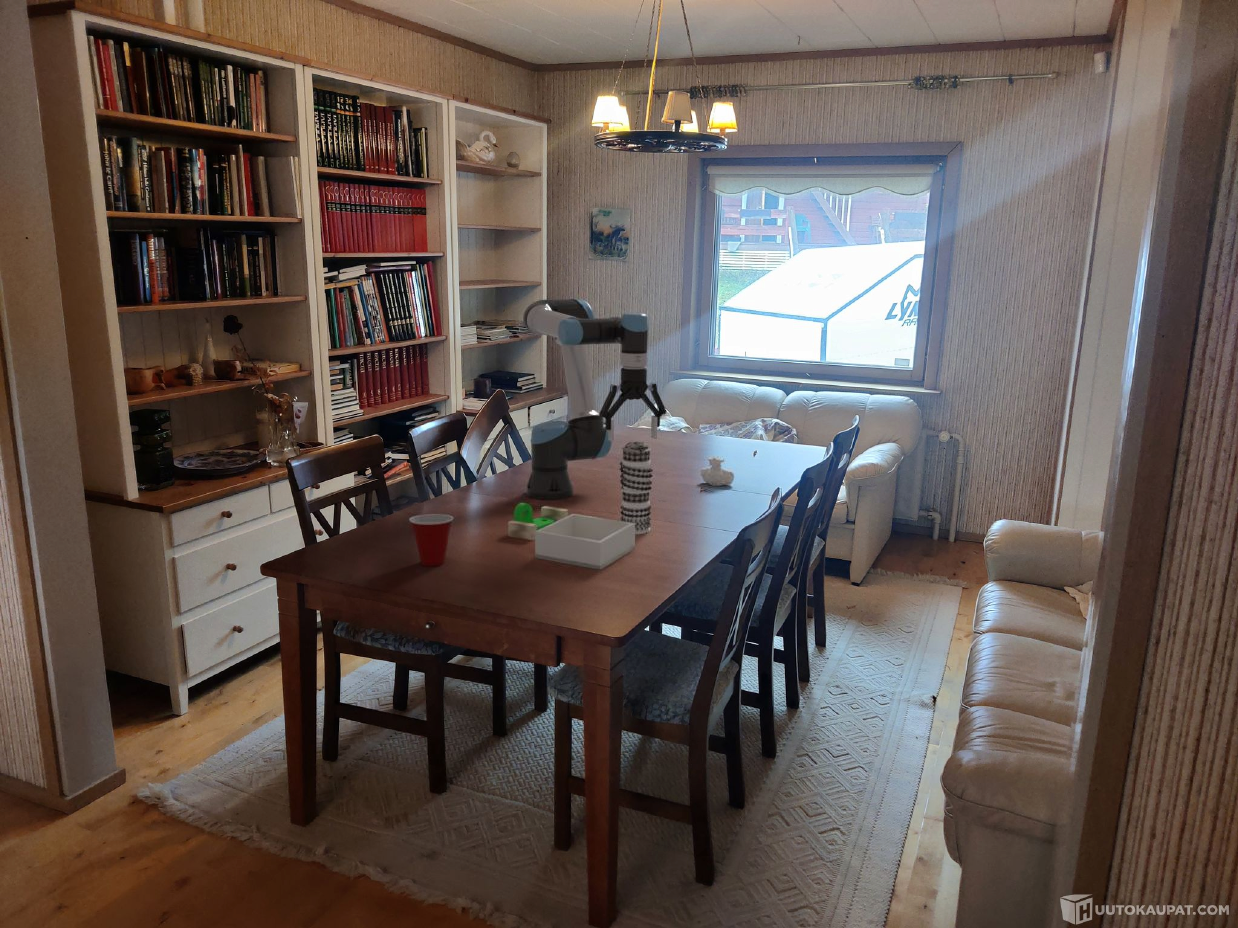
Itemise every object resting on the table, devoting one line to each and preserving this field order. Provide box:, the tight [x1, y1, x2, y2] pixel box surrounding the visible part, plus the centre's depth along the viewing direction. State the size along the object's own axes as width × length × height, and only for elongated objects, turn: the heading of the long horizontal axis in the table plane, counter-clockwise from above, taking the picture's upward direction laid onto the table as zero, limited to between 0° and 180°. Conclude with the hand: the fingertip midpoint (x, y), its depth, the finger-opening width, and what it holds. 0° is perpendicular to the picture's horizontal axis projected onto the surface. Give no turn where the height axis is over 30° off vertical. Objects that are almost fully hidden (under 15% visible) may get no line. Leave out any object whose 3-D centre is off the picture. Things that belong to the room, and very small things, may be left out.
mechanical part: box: [513, 502, 554, 530], centre depth 255 cm, size 12×6×8 cm, turn 143°
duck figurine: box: [699, 455, 735, 487], centre depth 306 cm, size 12×8×11 cm
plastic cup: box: [408, 513, 454, 567], centre depth 225 cm, size 11×11×12 cm
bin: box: [534, 513, 636, 571], centre depth 234 cm, size 19×19×7 cm
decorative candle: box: [619, 441, 653, 535], centre depth 253 cm, size 9×9×25 cm
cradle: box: [507, 505, 569, 541], centre depth 255 cm, size 8×19×4 cm, turn 153°
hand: (632, 439), depth 265 cm, fingers open, 13 cm apart
